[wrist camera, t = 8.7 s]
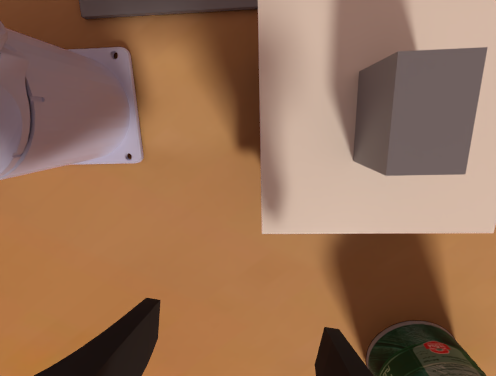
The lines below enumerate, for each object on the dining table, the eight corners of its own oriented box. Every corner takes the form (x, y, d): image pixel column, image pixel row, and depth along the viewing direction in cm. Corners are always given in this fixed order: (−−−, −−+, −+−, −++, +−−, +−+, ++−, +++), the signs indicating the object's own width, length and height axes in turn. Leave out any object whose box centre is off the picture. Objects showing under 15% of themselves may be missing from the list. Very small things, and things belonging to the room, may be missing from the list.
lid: (262, 228, 16) (261, 270, 12) (257, -13, 13) (254, -84, 9) (482, 227, 16) (574, 272, 11) (533, -30, 12) (693, -120, 8)
